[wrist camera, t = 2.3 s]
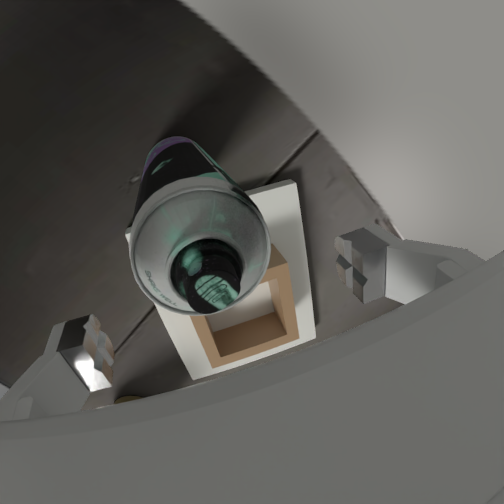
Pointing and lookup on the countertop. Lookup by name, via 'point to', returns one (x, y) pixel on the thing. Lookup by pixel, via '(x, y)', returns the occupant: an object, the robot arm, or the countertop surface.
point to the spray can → (195, 233)
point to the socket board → (255, 298)
